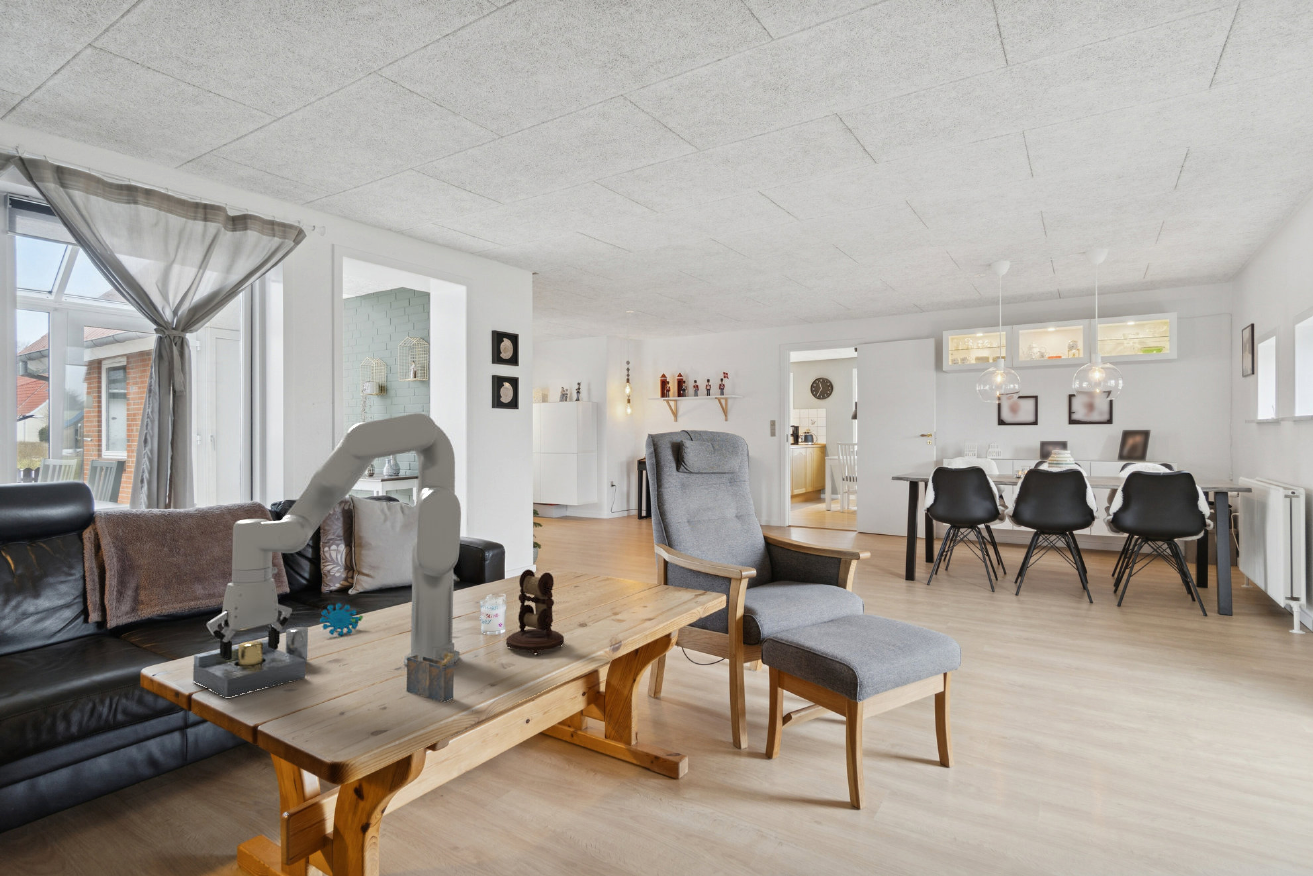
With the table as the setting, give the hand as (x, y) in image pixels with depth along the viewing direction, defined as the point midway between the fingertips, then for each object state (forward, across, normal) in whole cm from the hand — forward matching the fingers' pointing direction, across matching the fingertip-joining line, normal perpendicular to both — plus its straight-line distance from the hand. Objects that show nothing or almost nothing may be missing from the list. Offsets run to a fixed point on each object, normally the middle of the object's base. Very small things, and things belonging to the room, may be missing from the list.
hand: (250, 653), depth 151 cm
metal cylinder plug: (+6, -12, -4) cm, 14 cm away
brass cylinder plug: (+6, 0, 0) cm, 6 cm away
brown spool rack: (+6, -56, +32) cm, 64 cm away
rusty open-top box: (+7, -18, +38) cm, 43 cm away
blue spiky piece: (+6, -33, -20) cm, 39 cm away
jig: (+6, 0, 0) cm, 6 cm away
